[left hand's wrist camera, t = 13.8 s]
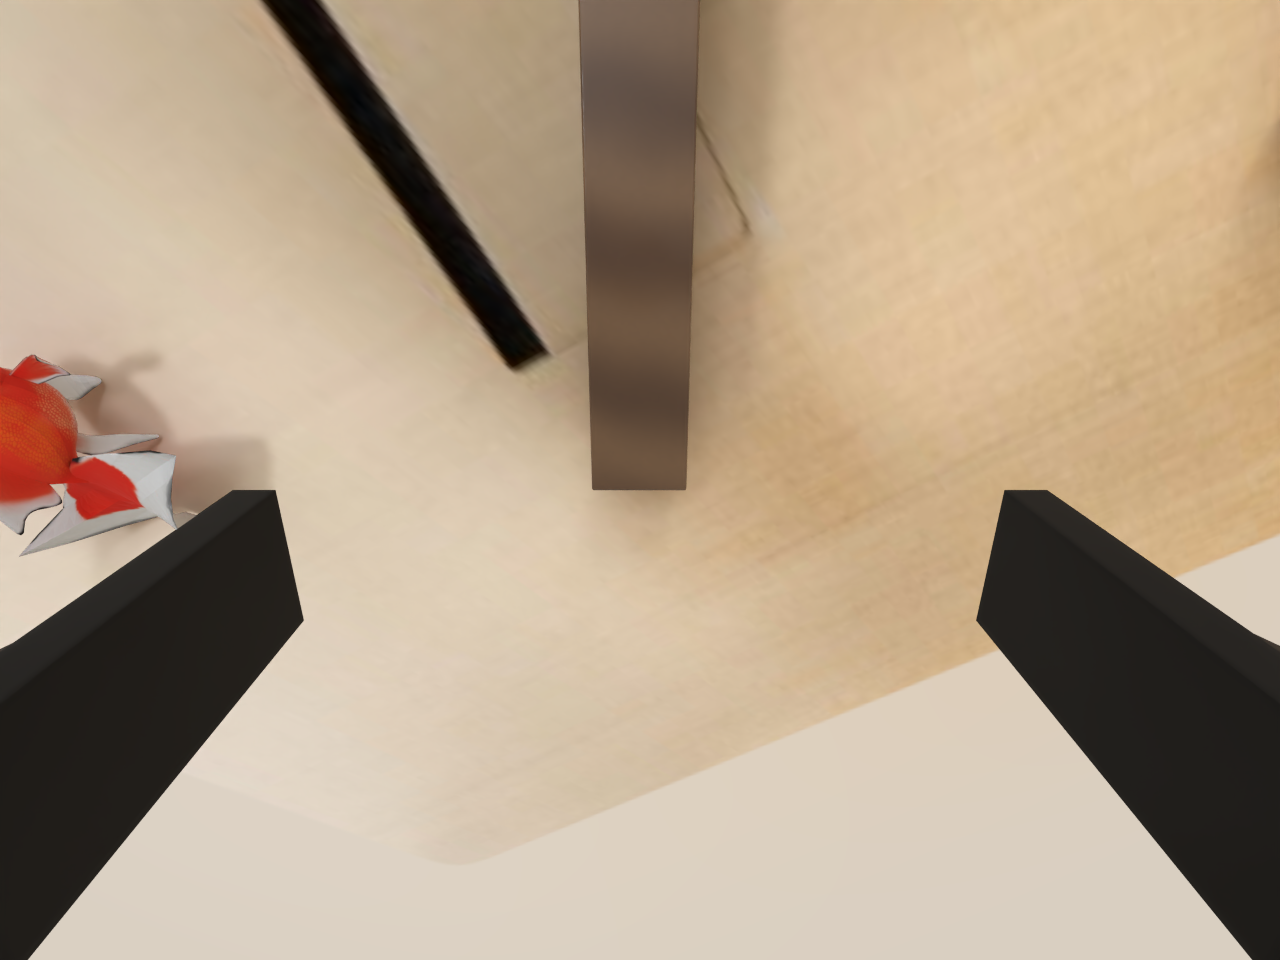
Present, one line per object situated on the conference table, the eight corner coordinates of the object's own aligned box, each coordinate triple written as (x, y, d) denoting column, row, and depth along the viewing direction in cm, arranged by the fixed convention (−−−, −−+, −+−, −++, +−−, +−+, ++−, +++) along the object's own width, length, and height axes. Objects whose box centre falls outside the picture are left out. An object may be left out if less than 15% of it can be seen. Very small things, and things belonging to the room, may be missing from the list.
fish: (63, 264, 32) (-102, 419, 26) (307, 463, 43) (229, 604, 37) (-50, 318, 37) (-213, 461, 31) (198, 487, 48) (113, 617, 42)
